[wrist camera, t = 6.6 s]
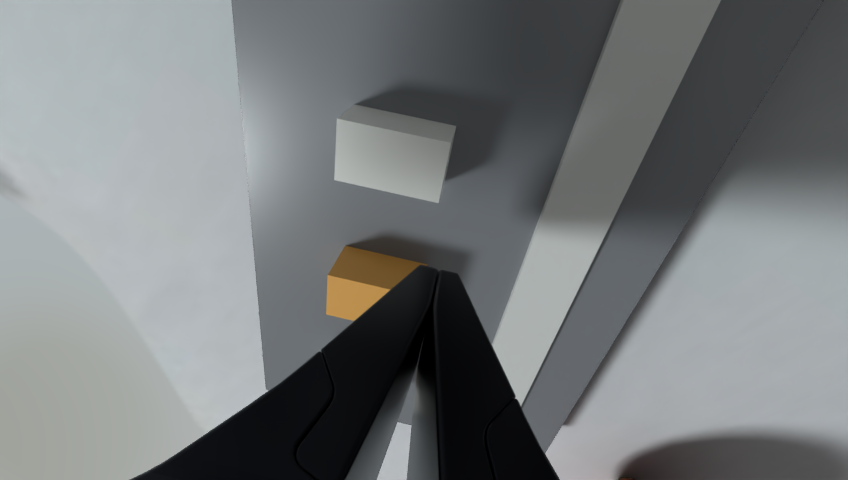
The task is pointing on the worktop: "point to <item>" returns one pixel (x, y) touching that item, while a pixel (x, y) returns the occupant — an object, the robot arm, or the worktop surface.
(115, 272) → the worktop surface
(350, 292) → the block
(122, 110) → the worktop surface
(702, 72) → the panel
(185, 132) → the worktop surface
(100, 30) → the worktop surface
